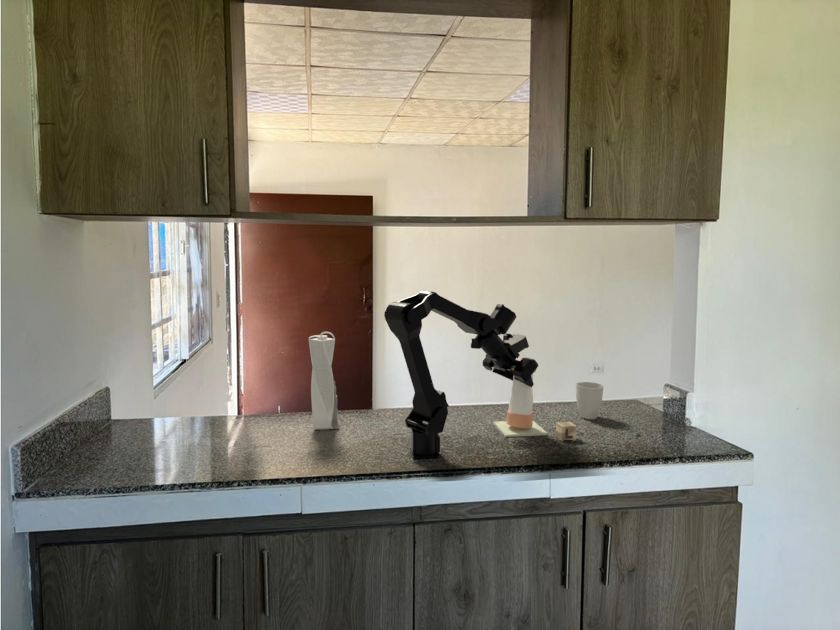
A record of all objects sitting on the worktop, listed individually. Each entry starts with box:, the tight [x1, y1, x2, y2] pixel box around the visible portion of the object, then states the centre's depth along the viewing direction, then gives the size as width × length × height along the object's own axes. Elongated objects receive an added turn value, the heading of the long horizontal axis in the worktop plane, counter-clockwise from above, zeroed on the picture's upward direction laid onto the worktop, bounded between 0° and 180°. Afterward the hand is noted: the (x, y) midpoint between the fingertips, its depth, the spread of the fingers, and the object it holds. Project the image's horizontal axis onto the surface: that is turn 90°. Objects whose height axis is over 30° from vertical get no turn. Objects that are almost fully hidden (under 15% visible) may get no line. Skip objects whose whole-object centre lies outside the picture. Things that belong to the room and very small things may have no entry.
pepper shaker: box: [506, 356, 538, 428], centre depth 158 cm, size 7×7×19 cm
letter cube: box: [555, 421, 577, 442], centre depth 151 cm, size 4×4×4 cm
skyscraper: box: [308, 331, 340, 431], centre depth 158 cm, size 8×8×28 cm
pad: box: [492, 420, 549, 438], centre depth 159 cm, size 12×12×1 cm
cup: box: [575, 381, 605, 420], centre depth 171 cm, size 8×8×10 cm
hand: (525, 383), depth 158 cm, fingers closed on pepper shaker, 6 cm apart
